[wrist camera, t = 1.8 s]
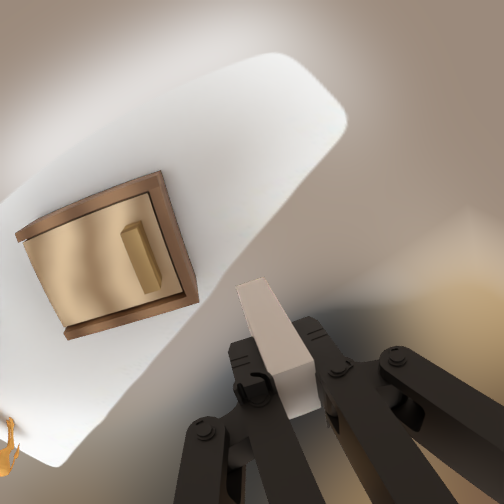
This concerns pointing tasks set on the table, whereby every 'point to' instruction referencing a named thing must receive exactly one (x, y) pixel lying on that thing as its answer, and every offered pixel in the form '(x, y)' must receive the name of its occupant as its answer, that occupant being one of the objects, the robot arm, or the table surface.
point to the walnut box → (171, 235)
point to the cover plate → (104, 261)
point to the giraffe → (8, 451)
